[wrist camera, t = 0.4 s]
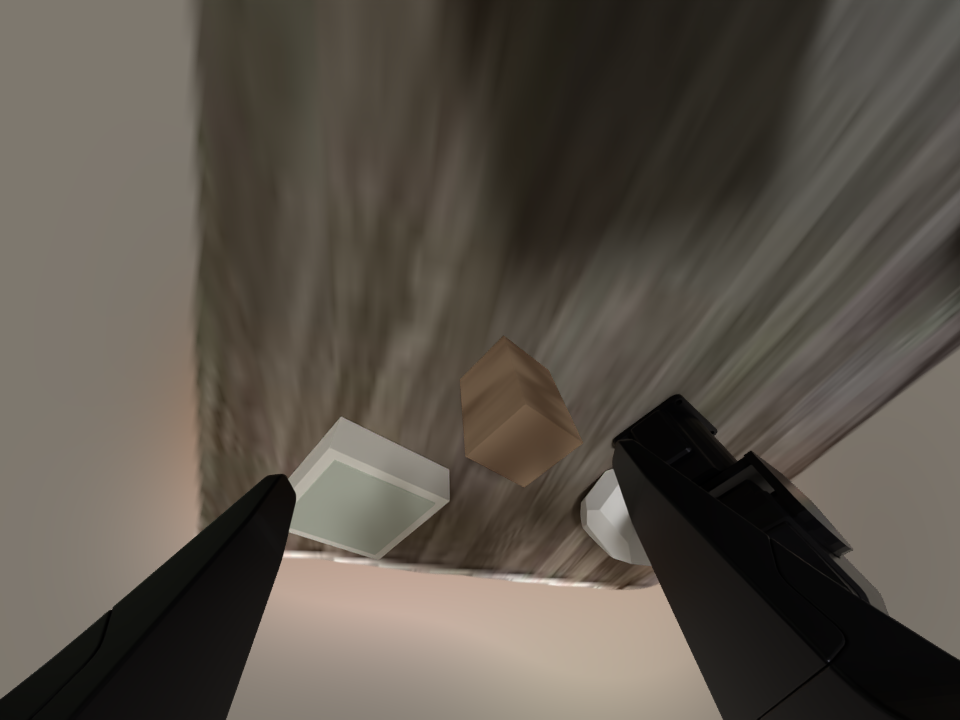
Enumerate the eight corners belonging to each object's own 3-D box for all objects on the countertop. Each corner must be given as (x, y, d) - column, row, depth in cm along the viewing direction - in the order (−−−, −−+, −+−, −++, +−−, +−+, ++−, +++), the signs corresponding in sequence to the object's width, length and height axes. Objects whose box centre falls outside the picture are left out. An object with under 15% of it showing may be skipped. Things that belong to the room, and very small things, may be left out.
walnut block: (548, 370, 24) (583, 442, 18) (505, 408, 26) (524, 487, 20) (503, 335, 22) (525, 403, 16) (459, 379, 24) (465, 456, 18)
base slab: (449, 469, 29) (449, 502, 26) (383, 527, 32) (378, 561, 29) (341, 416, 24) (328, 449, 22) (278, 489, 28) (261, 525, 25)
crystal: (561, 557, 31) (752, 575, 37) (614, 562, 25) (831, 583, 31) (559, 473, 35) (733, 503, 41) (604, 460, 29) (800, 497, 35)
